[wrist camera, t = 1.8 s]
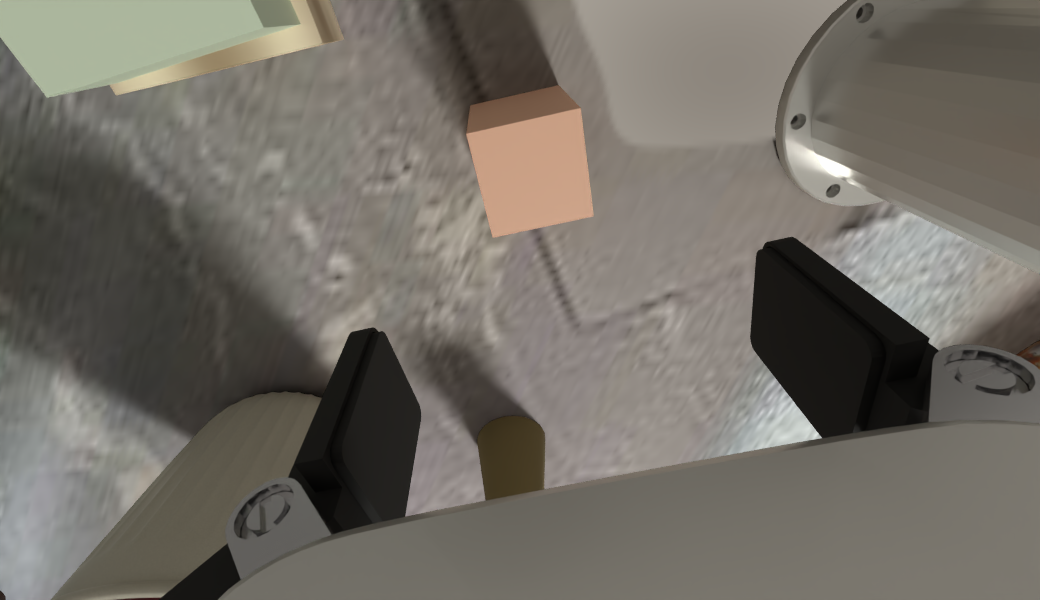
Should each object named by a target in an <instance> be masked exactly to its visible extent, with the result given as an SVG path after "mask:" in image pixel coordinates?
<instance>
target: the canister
mask: <svg viewBox="0 0 1040 600" xmlns="http://www.w3.org/2000/svg"><path fill="white" fill-rule="evenodd" d="M321 399H322V398H320V397H316V396H313V395H312V394H310V395H307V394H302V393H300V392H297V393H290V392H287V391H285V392H282V393H276V392H270V393H268V394H258V395H255V396H253V397H250V398H245V399H243V400H241V401H239V402H237V403H235V404H232V405H231V406H229V407H227V408H226V409H224V410H223V411H222V412H221V413H219V414H218V415H216V416H215V417H213V418H212V419H211V420H210V421H209V422H208V423H207V424H206V425H205V426H204V427H203V428H202V429H201V430H200V431H199V432H198V433H197V434H196V435H195V436H194V438H193V439H192V440H191V441H190V442H189V443H188V444H187V445H186V446H185V447H184V448H183V450H182V451H181V452H180V453H179V454H178V455H177V456H176V457H175V458H174V459H173V460H172V462H171V463H170V464H169V465H168V466H167V467H166V468H165V469H164V470H163V472H162V473H161V474H160V475H159V476H158V477H157V478H156V479H155V481H154V482H153V483H152V484H151V485H150V486H149V487H148V489H147V490H146V491H145V492H144V493H143V494H142V495H141V497H140V498H139V499H138V500H137V501H136V502H135V503H134V505H133V506H132V507H131V508H130V509H129V510H128V512H127V513H126V514H125V515H124V516H123V517H122V518H121V520H120V521H119V522H118V523H117V524H116V525H115V527H114V528H113V529H112V530H111V531H110V532H109V533H108V534H107V536H106V537H105V538H104V539H103V540H102V541H101V542H100V544H99V545H98V546H97V547H96V548H95V549H94V550H93V551H92V553H91V554H90V555H89V556H88V557H87V558H86V560H85V561H84V562H83V563H82V564H81V565H80V566H79V568H78V569H77V570H76V571H75V572H74V573H73V575H72V576H71V577H70V578H69V579H68V580H67V581H66V583H65V584H64V585H63V586H62V587H61V588H60V590H59V591H58V592H57V593H56V594H55V595H54V597H53V598H52V599H51V600H159V599H160V598H161V597H162V596H164V595H165V594H166V593H167V592H168V591H170V590H171V589H172V588H173V587H175V586H176V585H177V584H178V583H179V582H181V581H182V580H183V579H184V578H186V577H187V576H188V575H189V574H190V573H192V572H193V571H194V570H195V569H197V568H198V567H199V566H200V565H201V564H203V563H204V562H205V561H206V560H207V559H209V558H210V557H211V556H212V555H214V554H215V553H216V552H217V551H218V550H220V549H221V548H222V547H223V546H225V545H226V544H227V541H226V535H225V528H226V525H227V522H228V519H229V517H230V515H231V514H232V512H233V510H234V509H235V507H236V506H237V505H238V504H239V503H240V502H241V500H242V499H243V498H244V497H245V496H247V495H248V494H249V493H250V492H251V491H253V490H254V489H255V488H257V487H259V486H260V485H262V484H264V483H265V482H268V481H271V480H273V479H276V478H283V477H288V476H289V474H290V471H291V469H292V467H293V464H294V462H295V460H296V457H297V455H298V453H299V450H300V448H301V446H302V443H303V441H304V439H305V436H306V434H307V432H308V429H309V427H310V425H311V422H312V420H313V418H314V415H315V413H316V411H317V408H318V406H319V404H320V401H321Z"/></svg>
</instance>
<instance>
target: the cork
mask: <svg viewBox="0 0 1040 600" xmlns="http://www.w3.org/2000/svg"><path fill="white" fill-rule="evenodd" d="M477 443H478V450H479V457H480V464H481V471H482V478H483V485H484V492H485V499H486V500H492V499H497V498H502V497H507V496H512V495H518V494H523V493H528V492H533V491H538V490H544V470H545V433H544V431H543V429H542V428H541V426H540V425H539V424H537V423H536V422H535V421H533V420H531V419H528V418H525V417H520V416H507V417H501V418H498V419H495V420H492V421H491V422H489V423H488V424H486V425H485V426H484V427H483V428H482V430H481V431H480V432H479V435H478V439H477Z"/></svg>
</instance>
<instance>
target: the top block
mask: <svg viewBox="0 0 1040 600" xmlns="http://www.w3.org/2000/svg"><path fill="white" fill-rule="evenodd" d="M300 24H301V23H300V21H299V19H298V17H297V14H296V12H295V10H294V8H293V6H292V3H291V1H290V0H0V37H1V39H2V40H3V41H4V43H5V44H6V45H7V46H8V48H9V49H10V50H11V52H12V53H13V54H14V56H15V57H16V58H17V59H18V61H19V62H20V63H21V65H22V66H23V67H24V68H25V70H26V71H27V72H28V74H29V75H30V76H31V78H32V79H33V80H34V81H35V83H36V84H37V85H38V87H39V88H40V89H41V90H42V92H43V93H44V94H45V96H46V97H47V98H48V97H53V96H58V95H62V94H67V93H72V92H77V91H82V90H87V89H91V88H96V87H101V86H106V85H111V84H116V83H119V82H123V81H126V80H129V79H132V78H135V77H138V76H141V75H144V74H148V73H151V72H154V71H157V70H160V69H163V68H166V67H169V66H173V65H176V64H179V63H182V62H185V61H188V60H191V59H194V58H197V57H201V56H204V55H207V54H210V53H213V52H216V51H219V50H222V49H226V48H229V47H232V46H235V45H238V44H241V43H244V42H247V41H250V40H254V39H257V38H260V37H263V36H266V35H269V34H272V33H275V32H279V31H282V30H285V29H288V28H291V27H294V26H297V25H300Z"/></svg>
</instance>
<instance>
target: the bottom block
mask: <svg viewBox="0 0 1040 600" xmlns="http://www.w3.org/2000/svg"><path fill="white" fill-rule="evenodd" d="M290 1H291V3H292V6H293V8H294V10H295V12H296V14H297V17H298V19H299V21H300V23H301V24H300V25H297V26H294V27H291V28H288V29H285V30H282V31H279V32H275V33H272V34H269V35H266V36H263V37H260V38H257V39H254V40H250V41H247V42H244V43H241V44H238V45H235V46H232V47H229V48H226V49H222V50H219V51H216V52H213V53H210V54H207V55H204V56H201V57H197V58H194V59H191V60H188V61H185V62H182V63H179V64H176V65H173V66H169V67H166V68H163V69H160V70H157V71H154V72H151V73H148V74H144V75H141V76H138V77H135V78H132V79H129V80H126V81H123V82H119V83H116V84H111V85H110V86H111V88H112V90H113V91H114V93H115V94H116V95H120V94H124V93H128V92H132V91H137V90H141V89H145V88H149V87H154V86H158V85H162V84H166V83H170V82H174V81H178V80H182V79H187V78H191V77H195V76H199V75H203V74H207V73H211V72H215V71H219V70H223V69H227V68H231V67H235V66H239V65H243V64H247V63H251V62H255V61H259V60H263V59H267V58H271V57H275V56H279V55H283V54H287V53H291V52H295V51H299V50H303V49H307V48H312V47H316V46H320V45H324V44H328V43H332V42H336V41H340V40H344V38H343V35H342V33H341V30H340V27H339V24H338V22H337V19H336V16H335V13H334V11H333V8H332V5H331V2H330V0H290Z"/></svg>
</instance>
